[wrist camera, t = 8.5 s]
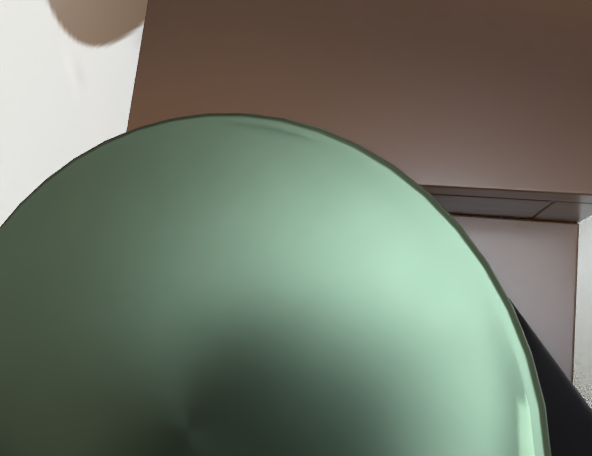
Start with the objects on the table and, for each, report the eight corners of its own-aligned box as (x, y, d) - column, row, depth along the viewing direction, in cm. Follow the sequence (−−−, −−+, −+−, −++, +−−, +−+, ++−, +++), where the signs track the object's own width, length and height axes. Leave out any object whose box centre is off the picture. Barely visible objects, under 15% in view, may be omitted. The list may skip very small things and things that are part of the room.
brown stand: (548, 510, 14) (618, 617, 9) (167, 434, 17) (68, 485, 12) (571, -11, 16) (638, -147, 11) (227, 2, 19) (163, -101, 14)
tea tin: (423, 511, 12) (442, 1025, 3) (204, 423, 14) (-161, 619, 5) (484, 270, 13) (632, 185, 4) (266, 214, 14) (33, 65, 6)
